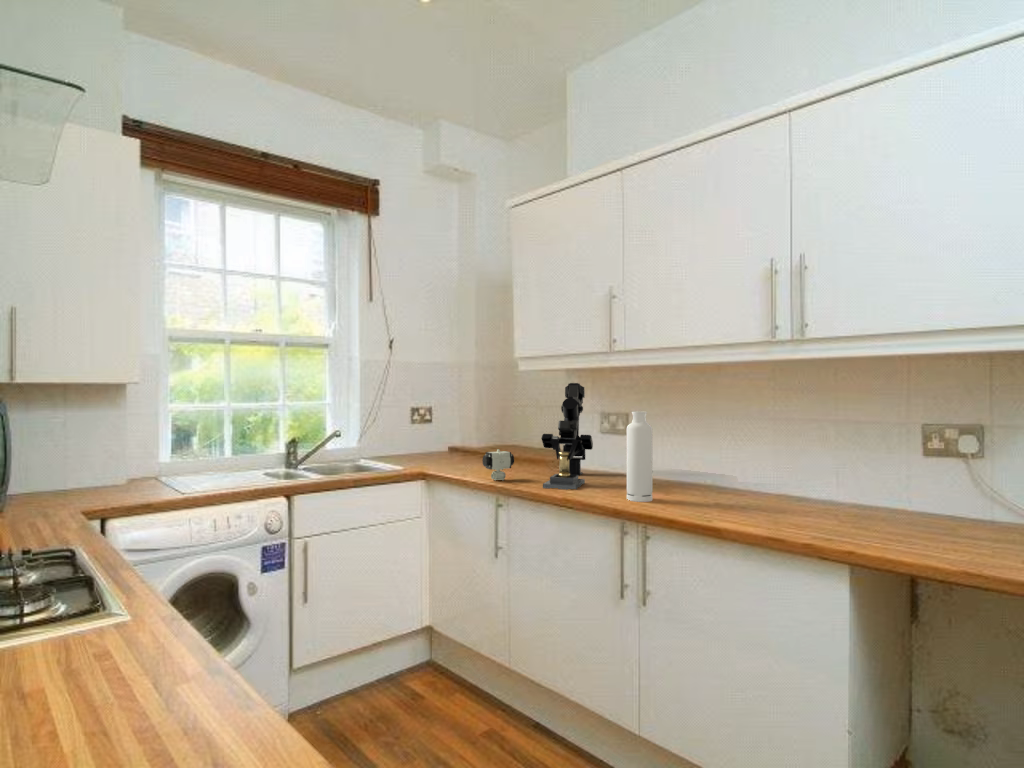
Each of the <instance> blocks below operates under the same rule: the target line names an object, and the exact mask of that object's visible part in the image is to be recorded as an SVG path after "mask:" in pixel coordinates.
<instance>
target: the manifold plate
mask: <svg viewBox="0 0 1024 768" xmlns="http://www.w3.org/2000/svg"><path fill="white" fill-rule="evenodd" d="M585 481H586V479H585V478H579V475H570V477H559V473H555V474H553V475H551V476H550V477H549V480H547V481H545V482H543V483H542V489H550V488H558V489H557V490H568V489H576V490H578V489H579V488H580V487H582V486H583V485H585ZM582 484H583V485H582ZM581 485H582V486H581ZM578 487H579V488H578ZM577 488H578V489H577Z"/></svg>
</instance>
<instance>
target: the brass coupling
mask: <svg viewBox="0 0 1024 768" xmlns="http://www.w3.org/2000/svg"><path fill="white" fill-rule="evenodd" d="M569 454H570V452H563V451H560V452H559V459H558V460H559V467H558V468H559V472H558V474H559V477H570V473H569Z"/></svg>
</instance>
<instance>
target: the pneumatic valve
mask: <svg viewBox="0 0 1024 768" xmlns="http://www.w3.org/2000/svg"><path fill="white" fill-rule="evenodd" d="M514 464H515V457H514V454H512V452H511V451H506V450H505V451H501V450H500V449H496V451H486V452H485V454H483V456H482V466H483V467H485V469H487V470H493V471H492V473H491V475H490V477H491V480H493V479H494V480H493V481H496V480H502V481H505V479H506V472H504V469H512V466H513V465H514Z"/></svg>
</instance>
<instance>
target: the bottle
mask: <svg viewBox="0 0 1024 768" xmlns="http://www.w3.org/2000/svg"><path fill="white" fill-rule="evenodd" d="M631 414H632V420H631V422H630V423H629V424H627V426H626V500H627V499H628V500H627V501H629V500H630V502H637V503H638V502H639V503H647V502H652V501H653V427H652V425H650V423H648V421H647V418H646V417H647V414H648V411H631Z"/></svg>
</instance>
